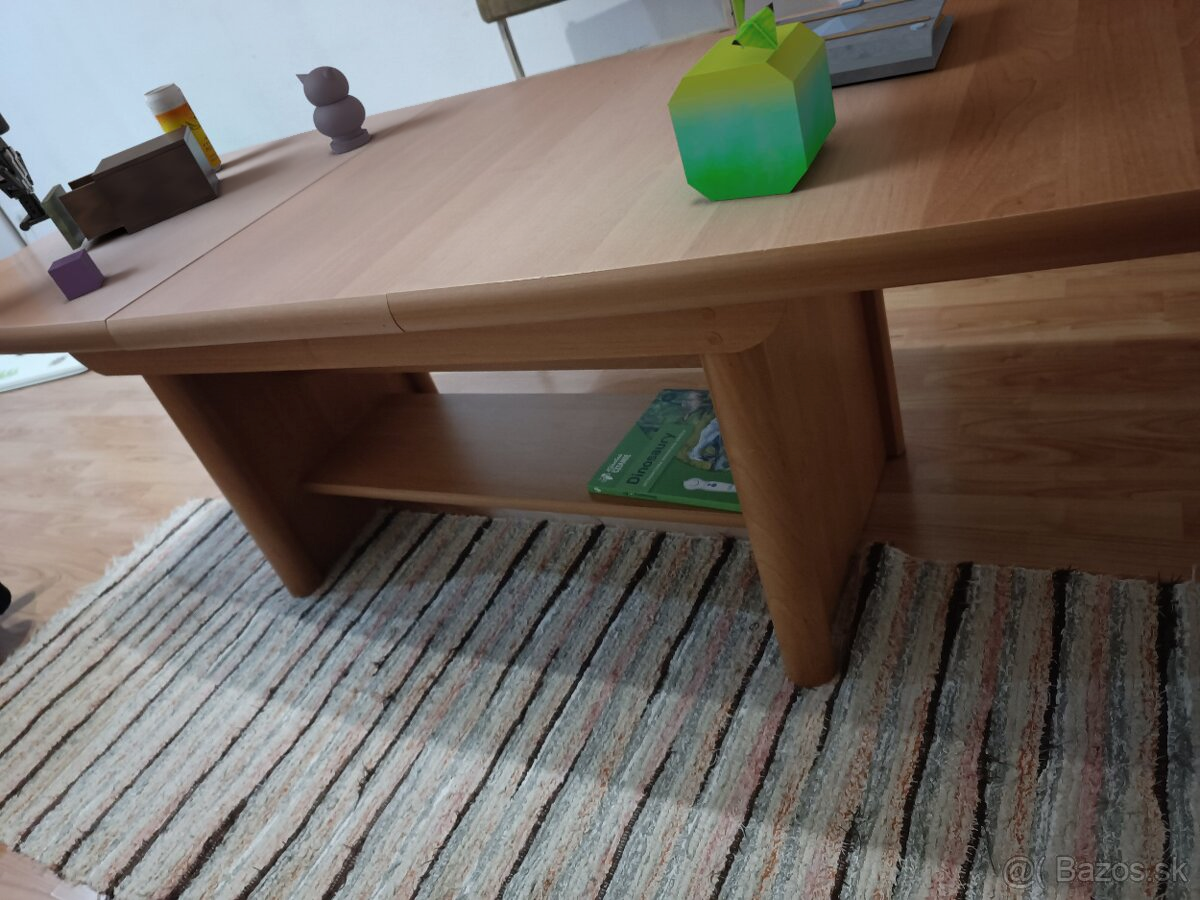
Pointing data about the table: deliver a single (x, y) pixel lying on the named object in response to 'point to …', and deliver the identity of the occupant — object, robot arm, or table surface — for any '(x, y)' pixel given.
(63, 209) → the drawer
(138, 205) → the cabinet
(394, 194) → the table surface
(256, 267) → the table surface
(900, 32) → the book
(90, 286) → the block
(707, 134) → the apple
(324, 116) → the cat figurine
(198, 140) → the beer can
